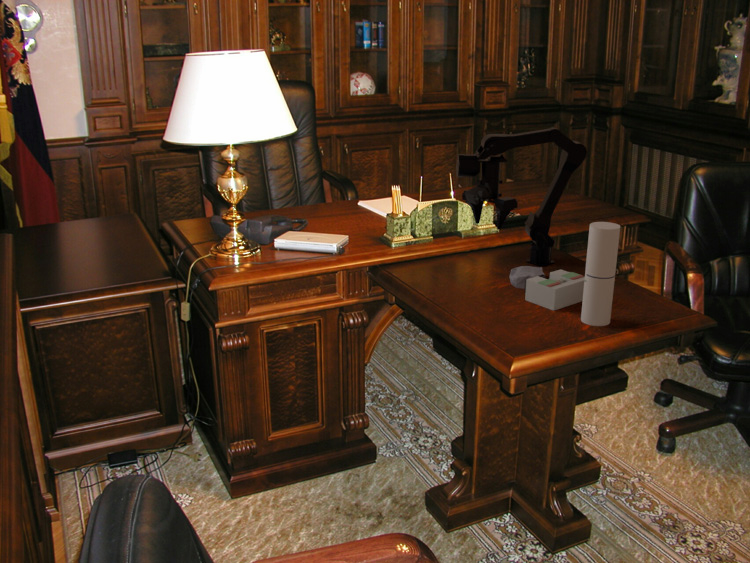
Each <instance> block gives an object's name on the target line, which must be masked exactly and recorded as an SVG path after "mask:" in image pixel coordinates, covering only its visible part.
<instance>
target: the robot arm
mask: <svg viewBox="0 0 750 563" xmlns="http://www.w3.org/2000/svg"><path fill="white" fill-rule="evenodd" d="M480 142H481V143H480V145H479V147H478V148H477V150H475V152H474V153H473V154H463V153H458V155H457V161H456V163H455V164H456V165H455V172H456V173H455V174H456V177H457V178H466V177H467V178H474V177H475V178H476V177H477V175H479V174H480V179H477V182H476V185H475V186H473V187H472V188H470V189H466V190H463V192H462V194H461V196H462V197H461V199H462V201H464V202H465V204H467V205H468V206H469V207H470V209H471V211H472V215H473V218H474V221H475V224H480V222H481V218H482V213H483V208H484V202H485V203H486V202H487V203H491V204H494V206H495V208H494V209H493V210H494V211H495V213H496V230H498V231H500V230H501V228H502V227H503V225H504V223H505V222H506V219H507V218H508V216H509V215H510V213H511V212H512V211H513V210H515V209H518V200H517V199H516V198H514V197H511V196H505V197H502V196H503V193H501V192H500V184H503V179H501V176H500V175H501V163H508V159H507V158H506V157H505V156H504V153H507V152H509V151H511V150H513V149H517V148H522V147H523V148H524V147H529V146H535V145H541V144H548V143H553V145H555V146H556V147H558V148H559V149H560V150H561V153H560V157H559V164H558V169H557V170H556V173H555V174H554V177H553V178H552V181H551V183H550V185H549V187H548V189H547V191H546V192H545V195H544V198H543V200H542V201H541V204H540V206H539V207H538V209H537V210H536V211H535V212H534V213H533V212H532V211H530V212H529V214H528V217H527V219H526V221H525V222H524V224H525V226H524V230H525V232H526V234H527V235H528V236H529V238H530V239H531V241H533V242H532V243H531V245H530V247H531V248H530V250H529V252H530V253H529V259H526V263H530V264H533V265H537V266H538V267H544V266H548V265H552V264H555V260H552V251H553V246H554V245H555V242H556V241H555V239H553V238H552V236H551V235H550V234H549V232H550V228H551V223H552V218H553V213H554V211H555V210H556V208H557V205H558V203H559V201H560V200H561V198H562V196H563V194H564V191H565V189H566V187H567V185H568V183H569V181H570V179H571V177H572V175H573V173H574V172H576V171H577V170H578V169H579V168H580V166H581V165H582V164H583V162H584V161H586V158H587V156H588V149H587V148H586V146H585V145H584V144H583V143H581V142H579V141H577V140H572V139H570V138H569V137H568V136H567V135H565V134H564V133H562V131H561V130H560V129H558V128H556V127H553V126H552V127H549V128H545V129H537V130H532V131H526V132H519V133H514V134H506V133H487V134H485V135H484V136H483V138H482V139H481V141H480Z"/></svg>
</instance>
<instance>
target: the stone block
mask: <svg viewBox="0 0 750 563" xmlns="http://www.w3.org/2000/svg"><path fill="white" fill-rule="evenodd" d="M542 274H543V275H545V274H546V273H544V271H543V266H531V265H525V266H524V265H521V266H517V267H514V268H512V269H511V270H510V273H509V281H510V284H511V285H512V286H513V287H515V288H516V289H523V290H525V280H526V279H529V278H532V277H536V276H539V275H542ZM545 276H546V275H545Z"/></svg>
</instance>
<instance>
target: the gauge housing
mask: <svg viewBox="0 0 750 563" xmlns="http://www.w3.org/2000/svg"><path fill="white" fill-rule="evenodd" d="M562 278H563V279H565V283H562V284H561V283H560V282H557V281H556V280H559V279H562ZM584 281H585V275H582V274H579V273H576V272H573V271H566V270H564V269H558V270H554V271H553V270H552V271H551V272H549V277H548V279H547V278H546V277H545V278H542V277H539V276H536V277H533V278H529V279H527V280H526V293H525V299H524V300H525V301H527V302H529V303H532V304H535V305H538V306H540V307H543V308H545V309H547V310H550V311H553V312H554V311H557V310H559V309H563V308H566V307H569V306H571V305H575V304H578V303H581V302H583V291H584Z"/></svg>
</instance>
